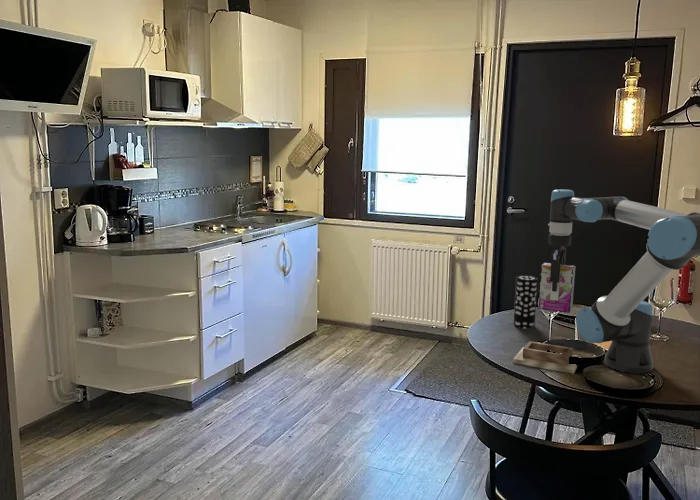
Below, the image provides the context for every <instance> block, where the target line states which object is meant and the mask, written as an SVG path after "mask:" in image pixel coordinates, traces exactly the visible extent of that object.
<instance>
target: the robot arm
mask: <svg viewBox="0 0 700 500" xmlns="http://www.w3.org/2000/svg"><path fill="white" fill-rule="evenodd" d="M549 210H550V211H549V223H548V224H547V226H548V227H549V231H548V232H549V234H548V244H549V245H550V246H553V249H552V252H551V254H550V261H551V262H550V263H551V272H550V280H549V282H551V293H550V300H557V301H558V299H559V283H560V282H559V275H560V266H561V265H566V257H567V251H568V250H567V248H566V247H569V246H571V245H572V235H571V234H572V232H573V220H576V221H581V222H584V223H595V222H597V221H598V220H599V221H601V220H602V221H603V220H612V221H616V222H621V223H625V224H627V225H631V226H635V227H638V228H641V229H642V228H643V229H645V230H649V231H648V234H647V236H648V238H647V243H646V252H645V253H644V254H643V255H642V256H641V258H640V259H639V260H638V261H637V262H636V264H635V265H633V267H632V268H631V269H630V270H629V271H628V272H627V274H626V275H625V276H624V277H623V278H622V279H621V280H620V281H619V282H618V283H617V285H615V287H614V288H613V289H612V290H611V291H610V292H609V294H608V295H602V296H600V297H599V298H598V299H596V301H595V302H594V303H593V304H592V306H590V307H587V306H586V307H584V308H582V309H580V310H579V311H578V312H577V314H576V317H575V318H576V319H575V322H576V323H575V324H576V329H577V331H578V334H579V336H580V337H581V338H582V339H583V341H585V342H587V343H589V344H602V343H607V342H611V343H610V345H609V347H608V349H607V350H606V353H605V356H604V365H606V366H607V367H608V366H609V367H608V368H610V367H611V368H610V369H612V368H613V369H612V370H614V369H616V370H615V371H617V370H619V371H618V372H621V371H625V372H624V373H626V372H629V373H628V374H635V375H637V374H640V375H641V374H647V373H650V372H652V371H653V370H654V361H653V357H652V352H651V348H650V342H651V341H650V340H651V331H652V325H653V324H652V323H653V317H654V315H653V305H651V303H649V302H647V301H645V299H646V298H647V297H648V296H649V295H650V294H651V293H652V292H653V291H654V290H655V289H656V288H657V287H658V286H659V285H660V284H661V282H663V280H665V278H666V277H667V276H668V275H670V273H672V271H680V270H681V269H683V267H685V266H686V265H687V264H688V263H689V261H690V260H692V259H693V258H694V257H700V212H696V211H692V212H689V213H684V212H680V211H677V210H671V209H666V208H662V207H658V206H655V205H651V204H645V203H641V202H637V201H632V200H629V199H628V198H627V197H626V196H619V195H618V196H617V195H615V196H608V197H607V196H606V197H603V196H602V197H576V196H575V192H574V191H573V190H572V189H561V188H560V189H554V190H552V192H551V198H550V209H549Z"/></svg>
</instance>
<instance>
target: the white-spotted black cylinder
mask: <svg viewBox="0 0 700 500" xmlns="http://www.w3.org/2000/svg"><path fill="white" fill-rule="evenodd" d="M537 290H538V277H536V276H533V275H518V276H517V275H516V277H515V291H514V292H515V293H514V294H515V295H514V310H513V311H514V312H513V327H515V328H517V329H523V330H524V329H525V330H526V329H527V330H529V329H533V328H535V327H536V326H535V324H536V312H537V311H536V310H537V308H536V307H537V296H538V295H537V293H538V291H537Z"/></svg>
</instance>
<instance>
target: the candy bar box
mask: <svg viewBox="0 0 700 500" xmlns="http://www.w3.org/2000/svg"><path fill="white" fill-rule="evenodd" d="M550 272H551V262H543V263H542V264H541V267H540V279H539V280H540V282H539V294H538V310H545V311H554V312H559V313H560V312H561V313H567V314H569V313H571V312H572V311H573V302H574V290H575V276H576V266H575V265H569V264H568V265H567V264H565V265H561V266H560V275H559V282H560V283H559V299H558V301H557V300H550V293H551V282H549V280H550Z"/></svg>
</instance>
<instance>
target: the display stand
mask: <svg viewBox="0 0 700 500" xmlns="http://www.w3.org/2000/svg"><path fill="white" fill-rule="evenodd" d="M547 350H551V351H554V352H558V353H553V352H547ZM560 353H562V354H560ZM570 356H577V354H576V355H575V354H574V347H568V346H562V345H557V344H550V343H543V342H538V341H537V342H536V341H530V340H529V341H528V342H527V343H526V345H525V346H523V347H522V348H521V349H520V350H519V352H518V353H516V355H515V356H514V357H513V362H512V363H513V364H515V365H516V364H517V365H523V366H527V367H534V368H535V367H536V368H538V369H539V368H540V369H545V370H550V371H551V370H552V371H556V372H557V371H558V372H561V373H568V374H569V373H570V374H573V375H574V374H575V372H576V370H577V369H578V367H577V365H576V364H569V357H570Z"/></svg>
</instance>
